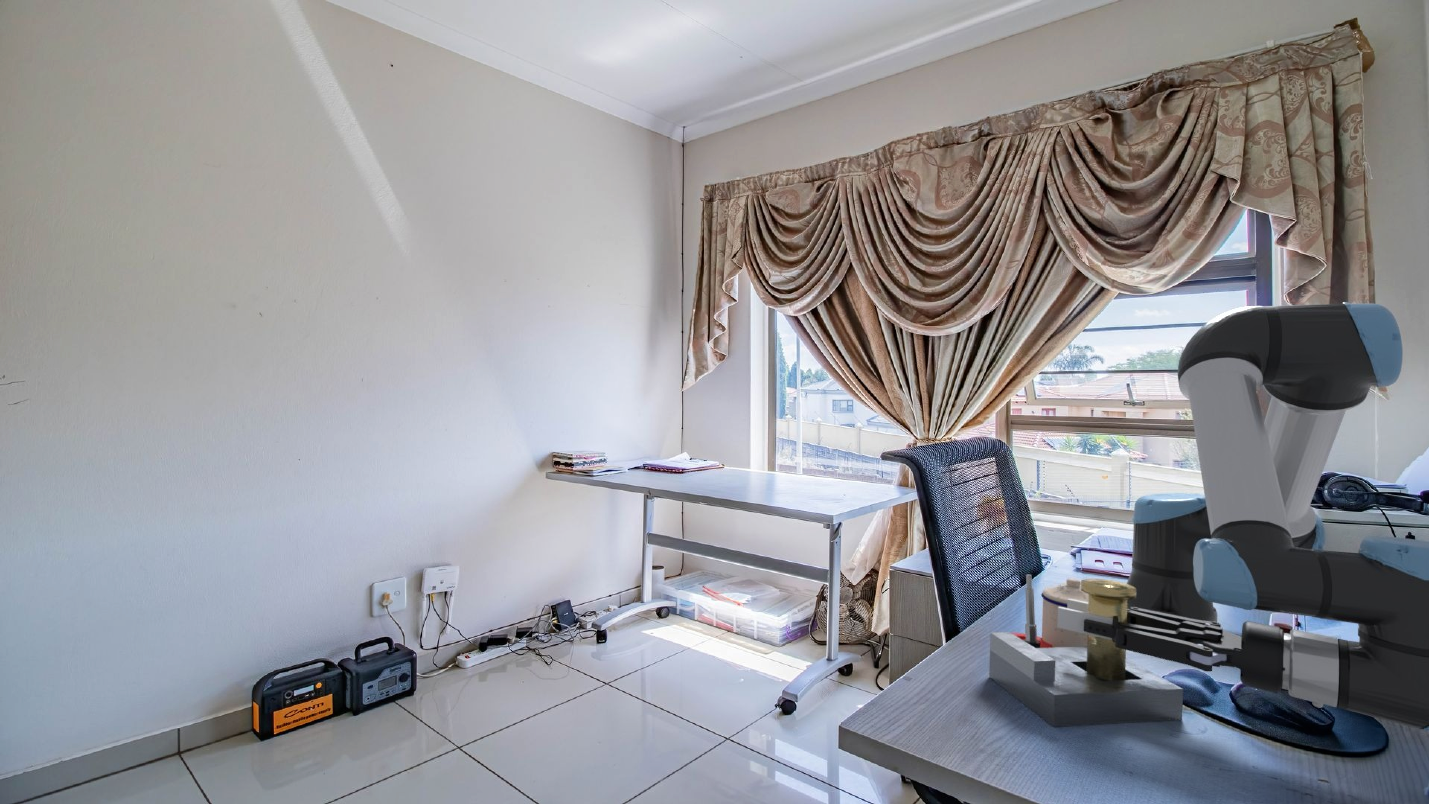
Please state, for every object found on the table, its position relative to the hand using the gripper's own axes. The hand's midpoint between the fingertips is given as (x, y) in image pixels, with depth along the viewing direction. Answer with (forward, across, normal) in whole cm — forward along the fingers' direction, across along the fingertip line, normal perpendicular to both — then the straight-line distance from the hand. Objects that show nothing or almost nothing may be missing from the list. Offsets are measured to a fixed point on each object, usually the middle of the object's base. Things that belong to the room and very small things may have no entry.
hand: (1063, 612), depth 90 cm
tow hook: (+8, +11, -10) cm, 17 cm away
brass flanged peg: (-5, 0, -7) cm, 9 cm away
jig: (-3, -2, -11) cm, 11 cm away
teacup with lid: (+2, +17, -11) cm, 21 cm away
